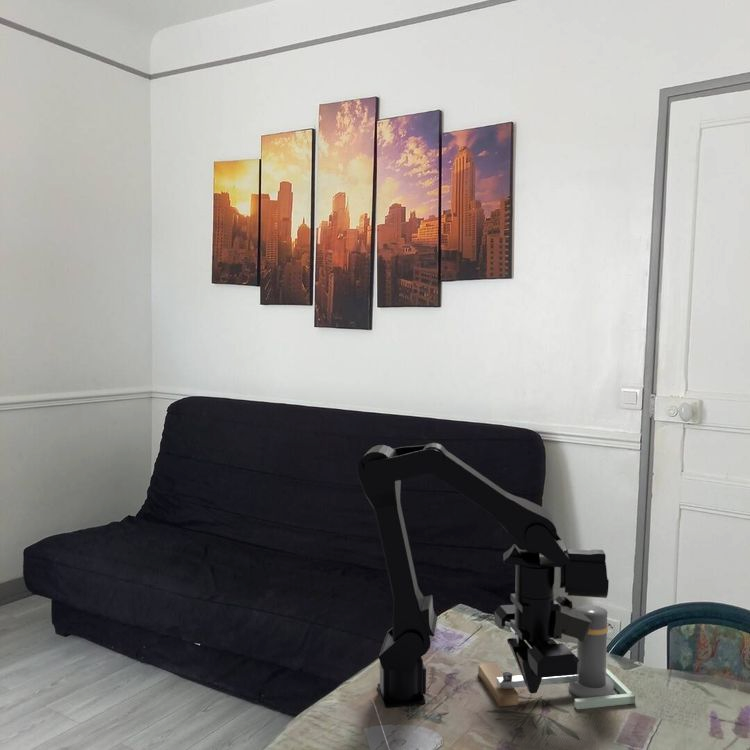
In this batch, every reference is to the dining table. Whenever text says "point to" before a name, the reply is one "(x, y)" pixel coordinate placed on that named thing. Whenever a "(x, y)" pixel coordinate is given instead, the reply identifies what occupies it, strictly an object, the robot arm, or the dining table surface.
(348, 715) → the dining table surface
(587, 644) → the plug
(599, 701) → the pale green u-shaped bracket
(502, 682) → the lever
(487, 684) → the latch rail
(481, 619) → the dining table surface
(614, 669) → the dining table surface
